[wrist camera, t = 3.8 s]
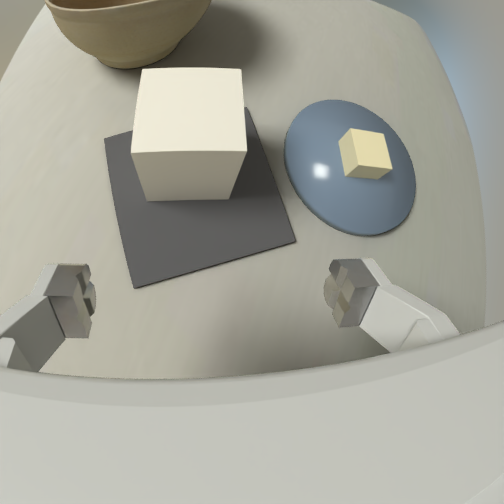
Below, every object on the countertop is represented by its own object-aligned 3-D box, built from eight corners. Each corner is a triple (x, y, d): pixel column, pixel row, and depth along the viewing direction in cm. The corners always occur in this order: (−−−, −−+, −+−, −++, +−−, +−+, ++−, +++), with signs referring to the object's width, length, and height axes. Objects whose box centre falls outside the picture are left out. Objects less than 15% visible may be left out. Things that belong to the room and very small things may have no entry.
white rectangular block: (228, 199, 24) (247, 151, 17) (147, 201, 23) (130, 152, 15) (225, 130, 25) (241, 69, 18) (151, 131, 24) (142, 69, 16)
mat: (293, 242, 25) (295, 241, 25) (134, 288, 22) (133, 288, 22) (245, 109, 27) (246, 107, 26) (105, 140, 24) (104, 138, 23)
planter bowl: (82, 120, 24) (47, 38, 13) (61, 33, 25) (42, -32, 14) (236, 65, 28) (258, -18, 17) (181, -6, 29) (188, -72, 18)
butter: (377, 179, 27) (392, 169, 25) (345, 176, 26) (358, 165, 24) (370, 145, 28) (383, 133, 25) (338, 141, 27) (350, 128, 24)
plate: (427, 217, 29) (433, 215, 28) (315, 254, 25) (320, 252, 24) (376, 103, 30) (380, 98, 29) (262, 111, 27) (265, 105, 26)
